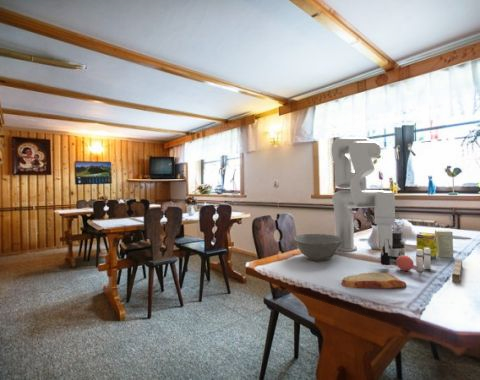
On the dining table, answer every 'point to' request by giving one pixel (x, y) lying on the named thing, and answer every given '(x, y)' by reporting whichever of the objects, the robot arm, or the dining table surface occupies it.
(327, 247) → the ceramic bowl
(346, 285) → the slice of bread
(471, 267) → the dining table surface
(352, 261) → the dining table surface
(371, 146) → the robot arm
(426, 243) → the supplement box
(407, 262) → the ball
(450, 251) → the skincare box
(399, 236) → the ink bottle
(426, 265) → the pin
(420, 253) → the pin
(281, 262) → the dining table surface
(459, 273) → the back rail
